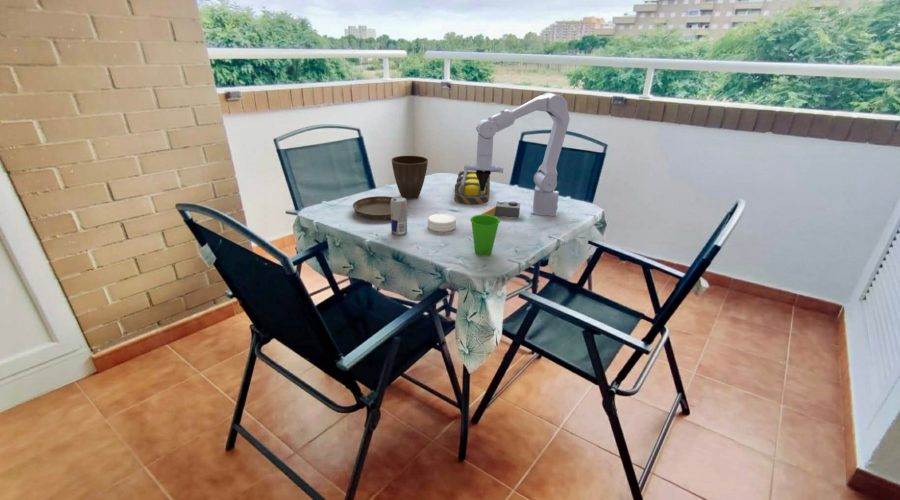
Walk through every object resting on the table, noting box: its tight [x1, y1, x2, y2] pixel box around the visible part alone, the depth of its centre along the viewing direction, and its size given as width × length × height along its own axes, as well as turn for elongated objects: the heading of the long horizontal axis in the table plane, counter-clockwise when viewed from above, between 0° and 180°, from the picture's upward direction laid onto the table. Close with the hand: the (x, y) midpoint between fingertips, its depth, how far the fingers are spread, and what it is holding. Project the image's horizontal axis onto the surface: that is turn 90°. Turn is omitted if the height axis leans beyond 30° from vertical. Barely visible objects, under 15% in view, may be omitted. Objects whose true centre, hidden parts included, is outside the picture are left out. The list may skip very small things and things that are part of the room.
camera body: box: [494, 200, 521, 219], centre depth 166 cm, size 10×7×5 cm
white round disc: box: [427, 213, 457, 233], centre depth 154 cm, size 10×10×4 cm
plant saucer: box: [352, 195, 394, 221], centre depth 166 cm, size 21×21×3 cm
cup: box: [469, 214, 501, 257], centre depth 133 cm, size 9×9×11 cm
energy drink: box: [390, 196, 408, 236], centre depth 146 cm, size 5×5×12 cm
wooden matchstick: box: [480, 205, 496, 216], centre depth 160 cm, size 10×1×3 cm, turn 146°
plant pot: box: [391, 155, 429, 200], centre depth 181 cm, size 15×15×16 cm
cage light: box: [453, 170, 491, 206], centre depth 188 cm, size 15×8×30 cm
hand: (482, 190), depth 163 cm, fingers closed
